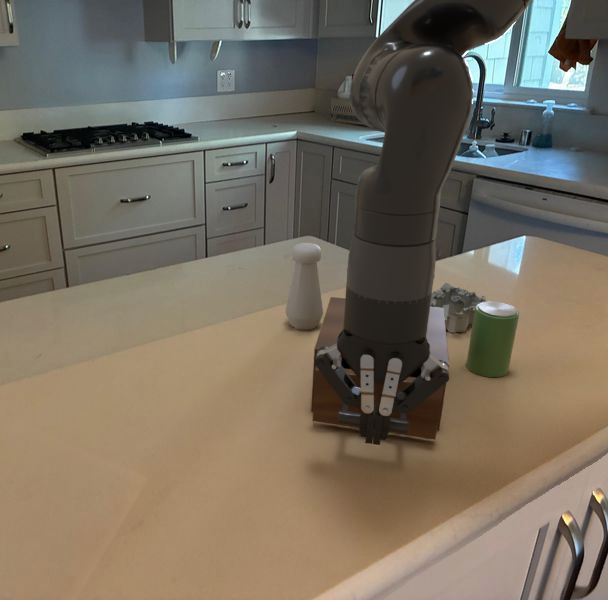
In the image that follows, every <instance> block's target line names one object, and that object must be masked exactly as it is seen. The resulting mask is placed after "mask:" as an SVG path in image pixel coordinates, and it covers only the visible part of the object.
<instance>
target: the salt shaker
mask: <svg viewBox="0 0 608 600" xmlns="http://www.w3.org/2000/svg"><path fill="white" fill-rule="evenodd" d="M291 258H292V261H294V262H295V265H294V269H293V274H292V279H291V284H290V289H289V293H288V298H287V300H286V301H287V302H286V307H285V315H286V317H287V319H288V322H289V325H290V326H291V327H293V328H295V329H297V330H307V331H310V330H312V329H314V328H316V327H318V325H319V323H320V321H321V319H322V318H323V315H324V305H323V300H322V293H321V285H320V277H319V269H318V264H317V263H319V262H320V261H321V259H322V249H321V247H320V246H319V245H318V244H315V243H311V242H301V243H297V244H295V245H294V246H293V247H292V252H291Z"/></svg>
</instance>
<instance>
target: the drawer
mask: <svg viewBox="0 0 608 600" xmlns="http://www.w3.org/2000/svg"><path fill="white" fill-rule="evenodd" d="M341 365H342V367H343V368H344V369H345V371H346V372H347V373H348V375H349V376H350V377H351V379H352V380H353V381H354V383H355V384H356V385H357V387H358V388H360V389H361V378H359V377H358V376H356V375H355V374H354V372H353V371H352V369H351V368H350V366H349V365H348V364H347V362H346V361H345V359H344V358H342V362H341ZM420 375H421V368H418V369H417V370H416V371H415V372H413V373H412V374H411V375H410V376H409V377H408V378H407V379H406V380H404V381H403V382H400V383H398V386H397V391H396V393H399V392H400V391H401V390H403V389H404V388H405V387H406V386H407V385H409V384H410V383H411V382H412V381H413V380H415V379H416V378H417V377H418V376H420ZM382 384H383V383H382V382H375V402H374V403H376V408H377V403H379V398H380V394H381V389H382ZM442 393H443V386H442V387H441V388H439V389H438V390H437V391H436V392H434V393H433V394H432V395H431V396H429V397H428V398H427V399H426V400H424V401H423V402H422V403H420V404H419V405H418V406H417V407H415V408H414V409H413V410H412V411H410V412H409V413H402V412H400V411H397V412H394V413H392V414H391V416H390V425H389V434H393V435H400V436H401V435H402V436H408V437H414V438H421V439H426V440H433V441H435V440H436V438H437V431H438V430H437V426H438V419H439V412H440V406H441V399H442ZM360 416H361V411H360V409H359V408H358V407H357V406H355V405H346V404H345V403H344V402H343V401H342V399H341V398H340V397H339V395H338V394H337V393H336V391H335V390H334V389H333V388H332V386H331V385H330V384H329V382H328V381H327V380H326V378H325V377H324V376H323V374H322V373H321V372H320V371H319V369H318V368H317V367H316V369H315V384H314V403H313V412H312V422H316V423H322V424H329V425H336V426H341V427H342V426H343V427H349V428H354V429H355V428H356V429H359V428H360ZM375 418H376V411H375ZM374 428H375V421H374Z"/></svg>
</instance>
